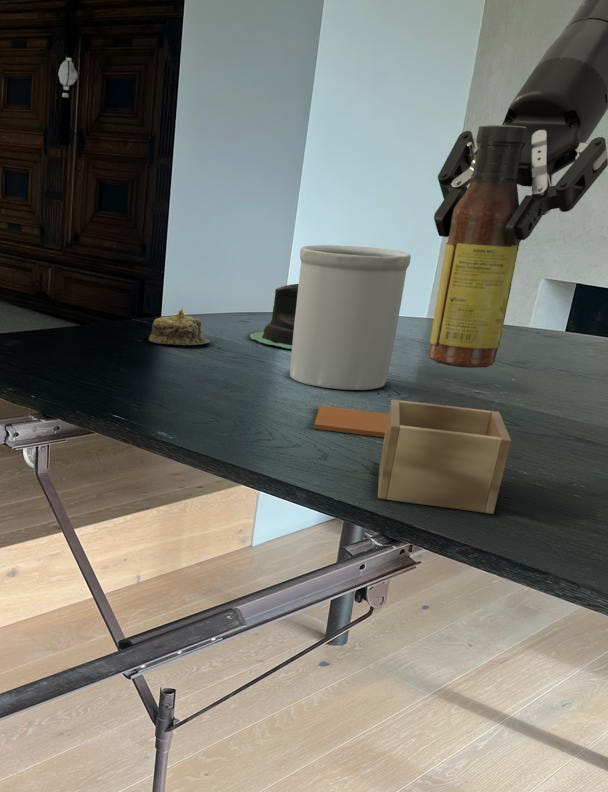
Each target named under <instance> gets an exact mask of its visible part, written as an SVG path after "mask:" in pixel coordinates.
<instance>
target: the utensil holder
mask: <svg viewBox="0 0 608 792" xmlns="http://www.w3.org/2000/svg"><path fill="white" fill-rule="evenodd" d="M411 258H412V257H411V254H410V253H408V252H405V251H399V250H394V249H388V248H379V247H370V246H355V245H335V244H314V245H304V246H301V248H300V251H299V259H300V268H299V277H298V284H299V285H298V295H297V305H296V314H295V323H294V333H293V344H292V349H291V356H290V368H289V369H290V371H289V376H290V378H291V379H292V380H294V381H297V382H299V383H301V384H305V385H309V386H312V387H313V386H314V387H319V388H324V389H325V388H326V389H332V390H333V389H334V390H344V391H367V390H375V389H380V388H383V387H385V385H386V384H387V379H388V375H389V374H388V373H389V370H390V364H391V361H392V355H393V350H394V346H395V345H394V344H395V341H396V335H397V329H398V324H399V317H400V311H401V305H402V299H403V295H404V294H403V293H404V288H405V280H406V275H407V270H408V268H409V266H410V263H411Z"/></svg>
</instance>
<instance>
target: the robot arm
mask: <svg viewBox="0 0 608 792" xmlns="http://www.w3.org/2000/svg"><path fill="white" fill-rule="evenodd" d="M607 111H608V0H582V2H581V4H580V5H579V7H578V8H577V10H576V11H575V13H574V14H573V16H572V17H571V19H569V21H568V23H567V25H566V26H565V27H564V29H563V30H562V32H561V33H560V35H559V36H558V37H557V38H556V39H555V40H554V41H553V42H552V43H551V45H549V47H548V48H547V50H546V51H545V53H544V54H543V55H542V57H541V58H540V60H539V62H538V63H537V64H536V66H535V67H534V69H533V70H532V72H531V73H530V75H529V76H528V78H527V79H526V81H525V82H524V84H523V86H521V88H520V90H519V91H518V93H517V94H516V96H515V97H514V98H513V100H512V101H511V103H510V105H509V107H508V108H507V112H506V114H505V116H504V120H503V122H502V124H501V125H505V126H522V127H526V128H527V138H526V144H525V145H524V147H523V148H522V152H521V159H520V163H519V168H518V173H517V177H518V178H517V186H521V187H528V188H529V187H530V188H531V195H528V194H526V195H525V196H524V197H523V199H522V200H521V202H520V203H519V207H518V208H517V210H516V211H515V213H514V214H513V216H512V217H511V219H510V220H509V222H508V223H507V225H506V228H505V234H506V238H507V242H508V245H514V246H517V245H519V246H520V243H521V242H522V241H526V239H527V238H529V237H530V236H531V234H532V233H533V231H534V229H535V228H536V227H537V225H538V223H539V222H540V221H541V219H542V218H543V216H546V215H547V214H549V213H550V212H551V210H557V209H558V210H559V211H560V212H562V213H567V212H570V211H572V210H573V208H575V206H577V204H578V203H579V201H581V199H582V198H583V197H584V195H585V193H587V192H588V190H589V189H590V188H591V186H592V185H594V183H595V181H597V179H598V178H599V177H600V175H601V174H602V173H603V172H604V171H605V169H606V168H607V167H608V148H607V142H606V138H605V137H603V136H598V137H595V138H593V139H591V141H590V142H588V140H589V139H590V137H591V135H592V134H593V132H594V131H595V130H596V129H597V126H598V125H599V124H600V122H601V120H602V119H603V117H604V116H605V114H606V113H607ZM476 140H477V137H474V135H473V132H472V131H471V130H465V131H463V132H461V133H460V134H459V135H458V136H457V139H456V141H455V143H454V144H453V147H452V148H451V150H450V152H449V154H448V156H447V158H446V159H445V161H444V163H443V165H442V167H441V169H440V171H439V172H438V174H437V180H438V185H439V188H440V191H441V194H442V198H443V201H442V202H441V203H440V205H439V207H438V208H437V209H436V211H435V212H434V215H433V219H434V224H435V228H436V232H437V234H438V236H439V237H444V238H448V237H449V231H450V225H451V218H452V215H453V210H454V208H455V206H456V205H457V203H458V202H459V200H460V199H461V198H462V197H463V195H464V194H465V192H466V190H467V189H468V186H469V185H470V182H471V175H472V174H473V170H474V165H475V159H476V154H477V148H478V147H477V142H476ZM568 166H570V167H568ZM566 167H568V169H567V170H566V171H565V172H564V173H563V175H562V176H561V177H560V178H559V180H558V181H557V182H556V184H555V185H553V176H554V175H555V174H556V173H558V172H560V171H561V170H563V169H565V168H566Z"/></svg>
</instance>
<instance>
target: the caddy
mask: <svg viewBox="0 0 608 792" xmlns="http://www.w3.org/2000/svg"><path fill="white" fill-rule="evenodd" d="M388 414H389V415H388V421H387V426H386V431H385V437H383V443H382V447H381V454H380V460H379V464H378V485H377V487H378V488H377V499H379V500H386V501H387V500H388V501H392V502H393V501H394V502H400V503H401V502H402V503H409V504H416V505H424V506H430V507H438V508H444V509H445V508H446V509H454V510H459V511H461V510H462V511H468V512H474V513H483V514H490V515H493V514H494V513H495V509H496V506H497V501H498V497H499V492H500V488H501V485H502V481H503V476H504V473H505V468H506V464H507V459H508V456H509V453H510V447H511V444H512V439H511V436H510V434H509V432H508V430H507V427H506V424H505V423H504V421H503V418H502V415H501V412H500V411H495V410H486V409H479V408H478V409H477V408H469V407H460V406H452V405H446V404H445V405H443V404H435V403H427V402H420V401H419V402H418V401H409V400H402V399H400V400H399V399H393V398H392V399H391V400H390V405H389V411H388Z"/></svg>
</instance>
